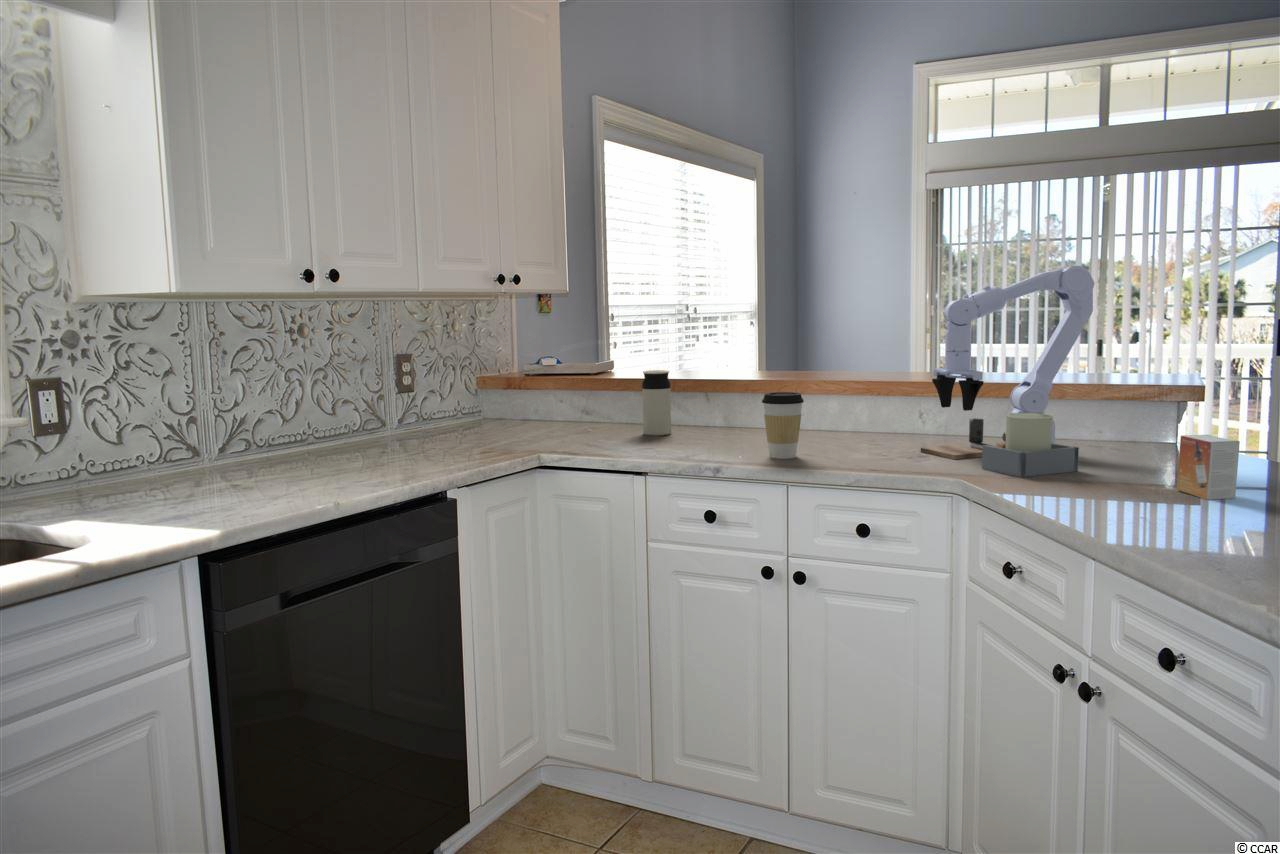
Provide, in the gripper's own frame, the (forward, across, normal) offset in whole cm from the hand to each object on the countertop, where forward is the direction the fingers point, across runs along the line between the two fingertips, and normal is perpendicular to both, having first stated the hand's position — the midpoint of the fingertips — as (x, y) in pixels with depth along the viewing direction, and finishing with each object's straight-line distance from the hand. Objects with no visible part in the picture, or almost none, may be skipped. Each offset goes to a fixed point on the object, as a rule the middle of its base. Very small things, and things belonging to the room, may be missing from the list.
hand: (956, 408), depth 212 cm
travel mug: (+11, -64, -51) cm, 83 cm away
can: (+11, +25, -2) cm, 27 cm away
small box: (+11, +58, +7) cm, 59 cm away
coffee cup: (+11, -14, -39) cm, 43 cm away
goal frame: (+10, +25, -2) cm, 27 cm away
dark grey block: (+10, +14, -2) cm, 17 cm away
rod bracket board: (+10, +2, -2) cm, 11 cm away
